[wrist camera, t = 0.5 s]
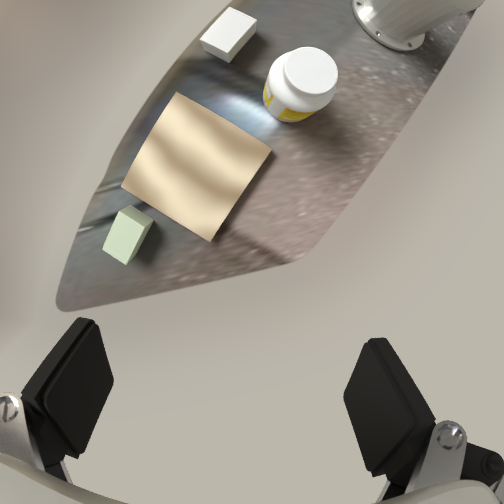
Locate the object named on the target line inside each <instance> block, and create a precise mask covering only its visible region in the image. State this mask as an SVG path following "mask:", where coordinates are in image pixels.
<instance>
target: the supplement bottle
mask: <svg viewBox="0 0 504 504" xmlns="http://www.w3.org/2000/svg"><path fill="white" fill-rule="evenodd" d="M337 79H338V70H337V66H336V64H335V62H334V61H333V59H332V58H331V57H330V56H329V55H328V54H327V53H325V52H324V51H322V50H320V49H317V48H313V47H302V48H298V49H296V50H294V51H292V52H288V53H285V54H283V55H282V56H280V57H279V58H278V59H277V60H276V61H275V62H274V63H273V65H272V66H271V69H270V71H269V75H268V78H267V81H266V84H265V88H264V91H263V101H264V105H265V107H266V109H267V110H268V112H269V113H270V114H271V115H272V116H273V117H275V118H277V119H279V120H281V121H284V122H297V121H301V120H303V119H305V118H307V117H308V116H310V115H312V114H313V113H315V112H317V111H318V110H320V109H322V108H323V107H325V106H326V105H327V104H328V103H329V102H330V101H331V100H332V98H333V96H334V94H335V91H336V82H337Z"/></svg>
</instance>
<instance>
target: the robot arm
mask: <svg viewBox="0 0 504 504" xmlns="http://www.w3.org/2000/svg"><path fill="white" fill-rule="evenodd" d="M484 1H485V0H352V8H353V12H354V15H355V17H356V19H357V20H358V22H359V23H360V25H361V26H362V27H363V29H364V30H365V31H366V32H367V33H368V34H369V35H370V36H372V37H373V38H374V39H375V40H377V41H378V42H380V43H381V44H383V45H385V46H387V47H389V48H391V49H394V50H398V51H411V50H414V49H416V48H418V47H419V46H421V45H422V43H423V41H424V38H425V32H427V31H429V30H431V29H433V28H435V27H437V26H439V25H441V24H443V23H445V22H447V21H449V20H451V19H453V18H456V17H458V16H460V15H462V14H465V13H467V12H469V11H472V10H474V9H476V8H478V7H480V6H481V5H482V4H483V2H484ZM113 382H114V379H113V375H112V372H111V369H110V365H109V362H108V358H107V355H106V352H105V348H104V344H103V341H102V337H101V333H100V329H99V326H98V325H97V324H95V322H94V320H92V319H87V318H81V317H79V318H77V319H76V320H75V321H74V323H73V324H72V325H71V326H70V328H69V329H68V330H67V331H66V333H65V334H64V335H63V336H62V337H61V339H60V340H59V341H58V342H57V344H56V345H55V346H54V348H53V349H52V350H51V352H50V353H49V354H48V355H47V357H46V358H45V360H44V361H43V362H42V364H41V365H40V366H39V368H38V369H37V371H36V372H35V373H34V374H33V376H32V377H31V379H30V380H29V382H28V383H27V384H26V386H25V388H24V389H23V390H22V392H21V393H22V396H21V398H19V396H17V395H16V394H13V393H10V392H7V393H2V394H0V504H127V503H124V502H120V501H117V500H114V499H110V498H107V497H104V496H102V495H98V494H96V493H93V492H90V491H88V490H85V489H83V488H80V487H77V486H75V485H73V483H72V480H71V478H70V476H69V473H68V471H67V468H66V466H65V463H64V460H63V459H64V457H65V454H66V455H68V456H71V457H74V458H76V459H78V457H79V455H80V454H82V453H84V452H85V449H86V447H87V444H88V442H89V439H90V437H91V435H92V432H93V430H94V427H95V425H96V423H97V420H98V418H99V415H100V413H101V411H102V408H103V406H104V404H105V402H106V400H107V397H108V395H109V393H110V391H111V389H112V386H113ZM343 397H344V402H345V405H346V408H347V411H348V414H349V417H350V420H351V423H352V426H353V429H354V432H355V435H356V438H357V441H358V444H359V447H360V450H361V453H362V457H363V460H364V463H365V466H366V469H367V470H368V471H371V473H372V476H373V477H376V476H380V475H383V474H386V477H387V482H386V484H385V486H384V488H383V490H382V492H381V494H380V496H379V497H378V500H377V501H376V503H374V504H504V460H503V459H502V457H501V456H500V455H499V454H498V453H496V452H494V451H491V450H488V449H485V448H482V447H479V446H476V445H474V444H471V443H468V442H467V436H466V432H465V431H464V429H463V428H462V427H461V426H460V425H459V424H458V423H456V422H453V421H448V420H447V421H442V422H440V423H438V424H437V425H436V423H435V422H434V421H435V420H436V418H435V417H434V415H433V414H432V412H431V410H430V408H429V406H428V404H427V403H426V401H425V399H424V398H423V396H422V394H421V393H420V391H419V389H418V388H417V386H416V384H415V383H414V381H413V379H412V378H411V376H410V375H409V373H408V371H407V370H406V368H405V366H404V365H403V364H402V362H401V360H400V359H399V357H398V355H397V354H396V352H395V351H394V349H393V348H392V346H391V345H390V343H389V342H388V340H387V339H386V338H371V339H370V340H368V342H367V343H365V344H364V345H363V348H362V350H361V353H360V356H359V358H358V361H357V363H356V366H355V368H354V371H353V373H352V376H351V378H350V380H349V382H348V385H347V387H346V389H345V391H344V396H343Z"/></svg>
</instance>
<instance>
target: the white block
mask: <svg viewBox="0 0 504 504" xmlns="http://www.w3.org/2000/svg"><path fill="white" fill-rule="evenodd" d="M256 24H257V20H256V19H254V18H252V17H250V16H248V15H246V14H244V13H242V12H239V11H237V10H235V9H233V8H231V7H229V8H228V9H227V10H226V11H225V12H224V13H223V14H222V15H221V16H220V17H219V18H218V19H217V20H216V21H215V23H214V24H213V25H212V26H211V27H210V28H209V29H208V30H207V31H206V33H205V34H204V35H203V36H202V37H201V38H200V41H201V44H202V46H203V49H204V50H205V51H207V52H209V53H211V54H213V55H215V56H217V57H219V58H221V59H223V60H224V61H226V62H228V63H230V61H231V60H232V59H233V58H234V56H235V55H236V54H237V53H238V52H239V51H240V49H241V48H242V47H243V46H244V45H245V44H246V42H247V41H248V40H249V39H250V38H251V37H252V36H253V35H254V33H255V32H256Z"/></svg>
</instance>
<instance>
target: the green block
mask: <svg viewBox="0 0 504 504" xmlns="http://www.w3.org/2000/svg"><path fill="white" fill-rule="evenodd" d="M153 221H154V220H153V219H152V218H150V217H149V216H147V215H146V214H144V213H142V212H141V211H139V210H138V209H136V208H135V207H133V206H131V205H130V206H128V207H126V208H124V209H122V210H120V211H119V212H118V215H117V217H116V219H115V221H114V223H113V225H112V228H111V230H110V232H109V235H108V237H107V239H106V242H105V244H104V246H103V250H104V251H106V252H107V253H109V254H110V255H112V256H113V257H115V258H116V259H118V260H119V261H121V262H122V263H124V264H125V265H127V264H128V263H129V262H130V261H131V259H132V258H133V257H134V256H135V255H136V254H137V252H138V250H139V248H140V246H141V244H142V242H143V240H144V238H145V236H146V234H147V232H148V230H149V228H150V227H151V225H152V223H153Z"/></svg>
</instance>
